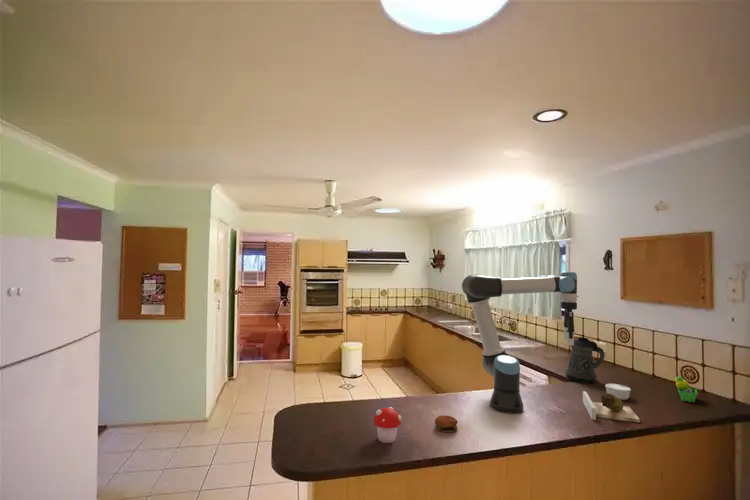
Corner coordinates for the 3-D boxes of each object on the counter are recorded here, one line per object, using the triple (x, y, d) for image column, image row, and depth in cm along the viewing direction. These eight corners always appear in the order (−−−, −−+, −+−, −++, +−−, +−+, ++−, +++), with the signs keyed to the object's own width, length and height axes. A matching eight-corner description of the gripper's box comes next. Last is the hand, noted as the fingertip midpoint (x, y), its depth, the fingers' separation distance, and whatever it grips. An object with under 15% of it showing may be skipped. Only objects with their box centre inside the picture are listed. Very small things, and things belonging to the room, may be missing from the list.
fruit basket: (697, 404, 193) (697, 381, 193) (675, 400, 198) (675, 378, 199) (696, 398, 202) (696, 376, 202) (675, 394, 207) (674, 373, 208)
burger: (434, 422, 165) (435, 412, 165) (456, 425, 164) (457, 414, 164) (434, 433, 155) (434, 421, 156) (458, 435, 154) (458, 423, 154)
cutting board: (595, 416, 175) (595, 413, 175) (589, 404, 190) (589, 401, 190) (639, 422, 169) (639, 419, 169) (629, 409, 184) (629, 406, 184)
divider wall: (591, 419, 172) (591, 408, 172) (582, 401, 194) (582, 391, 194) (595, 419, 171) (595, 408, 171) (586, 401, 194) (586, 391, 194)
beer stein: (561, 375, 240) (561, 334, 241) (592, 375, 239) (592, 335, 240) (573, 383, 223) (573, 340, 224) (607, 384, 223) (607, 341, 223)
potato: (632, 412, 176) (632, 395, 177) (609, 414, 173) (609, 396, 174) (616, 405, 185) (616, 389, 185) (594, 407, 181) (594, 390, 182)
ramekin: (635, 399, 199) (635, 388, 199) (621, 401, 195) (621, 391, 195) (614, 392, 209) (614, 382, 210) (600, 394, 205) (600, 384, 205)
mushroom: (399, 433, 154) (400, 403, 155) (402, 446, 144) (402, 413, 144) (373, 433, 154) (373, 402, 154) (373, 446, 143) (374, 413, 144)
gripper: (580, 304, 187) (580, 347, 186) (573, 299, 210) (573, 338, 210) (563, 303, 189) (563, 346, 189) (558, 298, 213) (558, 337, 212)
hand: (568, 342), depth 199 cm, fingers open, 13 cm apart
